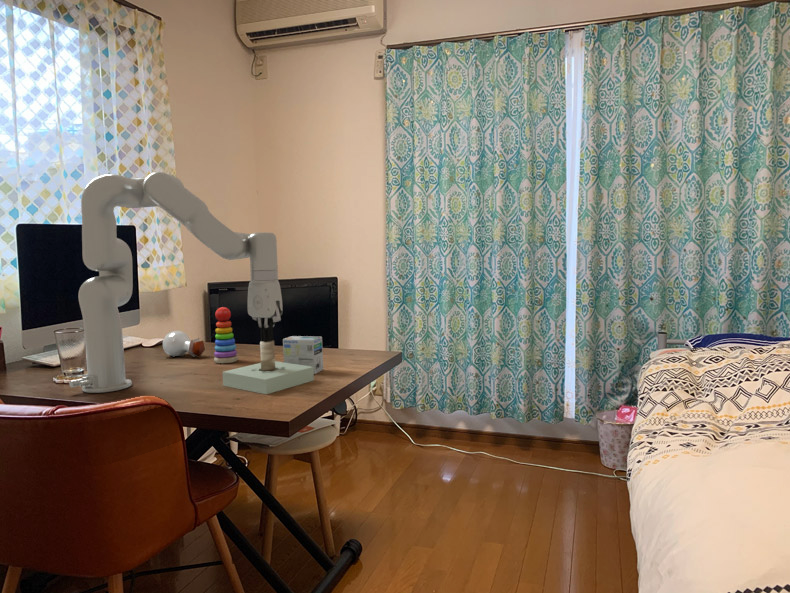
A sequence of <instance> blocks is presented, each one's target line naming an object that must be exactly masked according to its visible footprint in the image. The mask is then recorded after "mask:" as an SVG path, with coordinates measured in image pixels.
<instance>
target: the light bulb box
mask: <svg viewBox="0 0 790 593" xmlns="http://www.w3.org/2000/svg"><path fill="white" fill-rule="evenodd" d="M282 351H283V352H282V353H283V362H285V363H291V364H298V365H305V366H311V367H313V370H314V375H316V374H318V373H320V372H321V371H323V370H324V353H323V352H324V350H323V337H322V336H314V335H313V336H311V335H310V336H308V335H306V336H305V335H304V336H301V335H298V336H297V335H292V336H288V337H285V338H283V339H282Z"/></svg>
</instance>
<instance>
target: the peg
mask: <svg viewBox="0 0 790 593" xmlns="http://www.w3.org/2000/svg"><path fill="white" fill-rule="evenodd" d="M259 351H260V354H259V355H260V363H261V371H263V372H265V371H274V370H276V368H275V361H276V352H275V351H276V348H275V340H273V341H268V342H262V341H261V340H260V342H259Z"/></svg>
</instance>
